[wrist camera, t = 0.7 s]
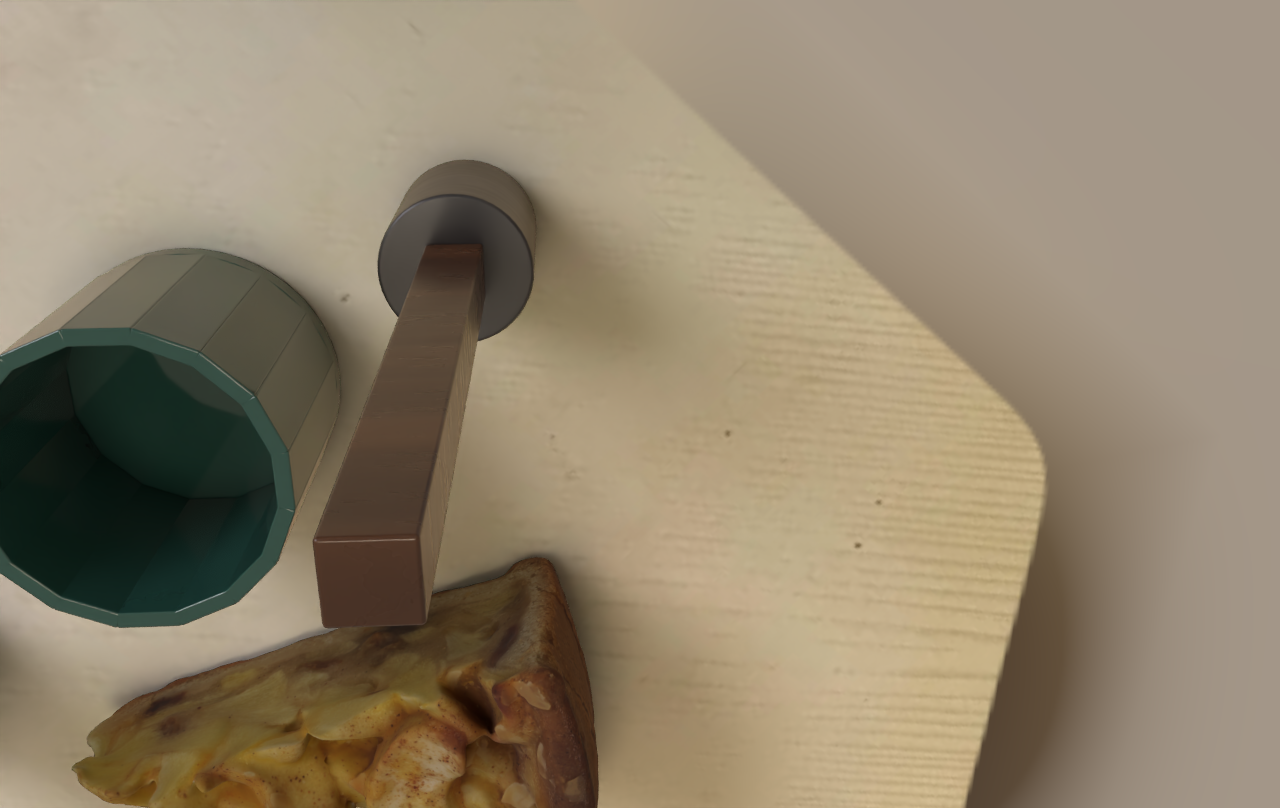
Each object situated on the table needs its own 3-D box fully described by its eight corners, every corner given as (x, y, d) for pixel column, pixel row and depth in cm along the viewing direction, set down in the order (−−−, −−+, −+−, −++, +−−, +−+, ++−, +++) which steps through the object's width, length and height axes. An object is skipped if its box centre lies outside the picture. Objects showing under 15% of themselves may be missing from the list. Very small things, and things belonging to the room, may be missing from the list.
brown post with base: (393, 160, 37) (201, 455, 17) (534, 158, 38) (510, 447, 17) (403, 294, 39) (241, 709, 19) (538, 292, 39) (520, 698, 19)
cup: (38, 249, 38) (-87, 332, 30) (327, 245, 38) (273, 325, 31) (88, 504, 41) (-14, 632, 34) (352, 496, 42) (309, 622, 34)
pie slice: (583, 543, 43) (590, 674, 36) (600, 769, 47) (609, 929, 40) (75, 581, 42) (-26, 723, 35) (136, 808, 46) (56, 979, 39)
